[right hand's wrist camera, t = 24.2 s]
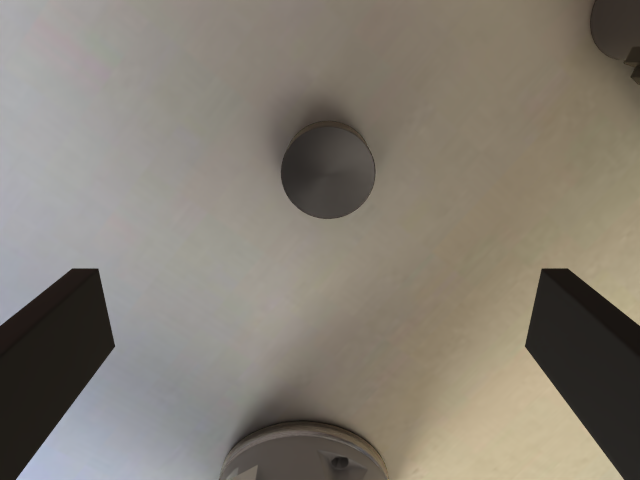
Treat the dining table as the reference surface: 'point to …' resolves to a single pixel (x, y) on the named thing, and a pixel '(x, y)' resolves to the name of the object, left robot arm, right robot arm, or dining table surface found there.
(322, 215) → the lid
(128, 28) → the dining table surface
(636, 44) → the jar
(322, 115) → the dining table surface
